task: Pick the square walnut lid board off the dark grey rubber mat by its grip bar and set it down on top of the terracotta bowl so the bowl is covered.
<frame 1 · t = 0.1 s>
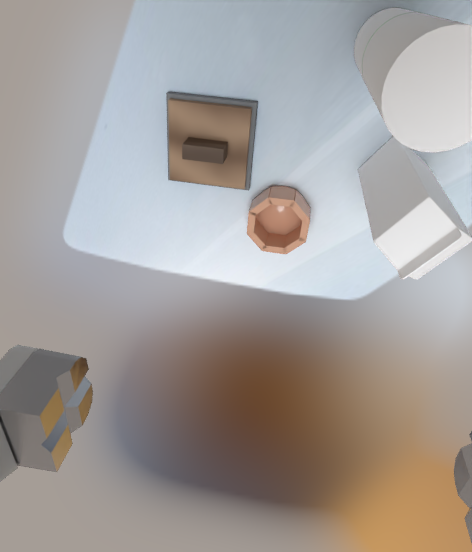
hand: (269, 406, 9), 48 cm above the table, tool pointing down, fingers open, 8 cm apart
cylindrical container: (387, 46, 46), on the table
bowl: (280, 211, 59), on the table
milk: (392, 166, 53), on the table
lid: (209, 144, 54), point 1 cm above the table, touching mat
mat: (211, 141, 55), on the table
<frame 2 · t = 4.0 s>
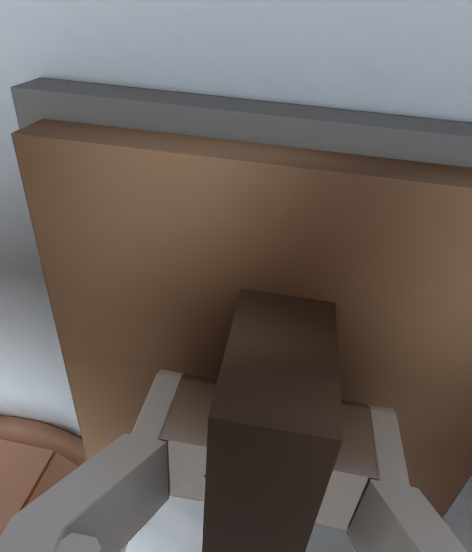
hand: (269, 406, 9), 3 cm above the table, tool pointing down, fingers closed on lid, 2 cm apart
bowl: (46, 475, 18), on the table
lid: (276, 353, 10), point 1 cm above the table, touching gripper, mat
mat: (278, 326, 11), on the table
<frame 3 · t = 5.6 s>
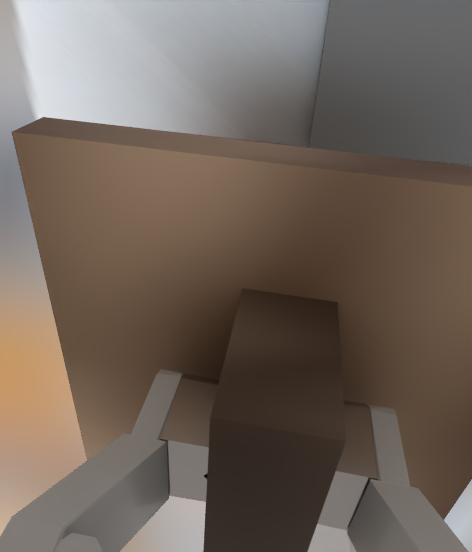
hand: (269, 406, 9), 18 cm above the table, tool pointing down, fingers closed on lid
milk: (341, 374, 33), on the table
lid: (277, 353, 10), point 16 cm above the table, touching gripper
mat: (446, 36, 20), on the table
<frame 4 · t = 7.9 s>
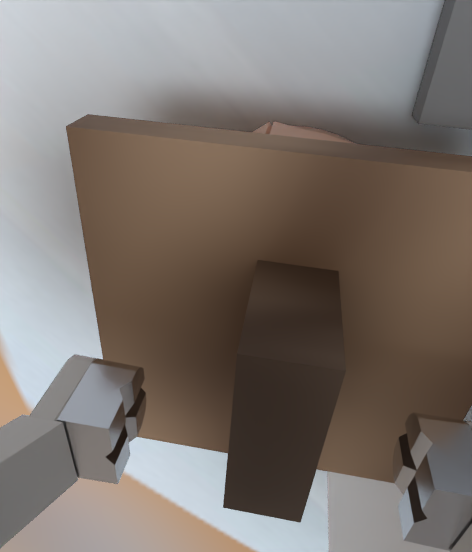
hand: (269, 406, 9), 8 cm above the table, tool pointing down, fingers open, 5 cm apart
bowl: (288, 233, 15), on the table, touching lid
milk: (409, 474, 22), on the table
lid: (285, 321, 12), point 4 cm above the table, touching bowl
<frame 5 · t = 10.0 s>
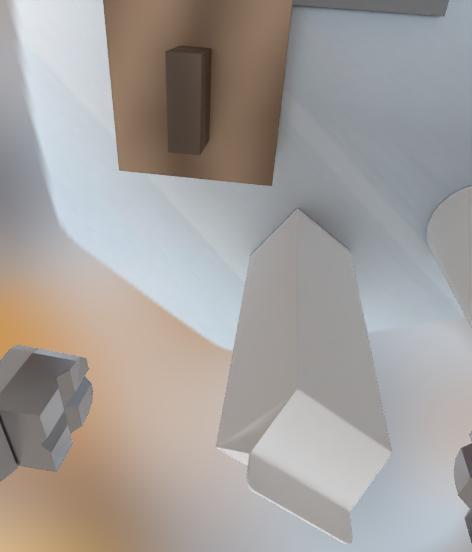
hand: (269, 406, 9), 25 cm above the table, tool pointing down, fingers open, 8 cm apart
milk: (299, 252, 36), on the table
lid: (198, 92, 26), point 5 cm above the table, touching bowl
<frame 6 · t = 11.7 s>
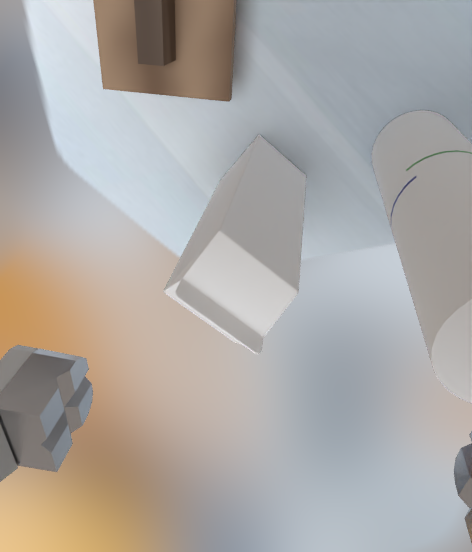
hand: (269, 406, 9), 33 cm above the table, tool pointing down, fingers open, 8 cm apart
cylindrical container: (413, 151, 38), on the table
milk: (262, 177, 41), on the table
lid: (166, 18, 31), point 4 cm above the table, touching bowl
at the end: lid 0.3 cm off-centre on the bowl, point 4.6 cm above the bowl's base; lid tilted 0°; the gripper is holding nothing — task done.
